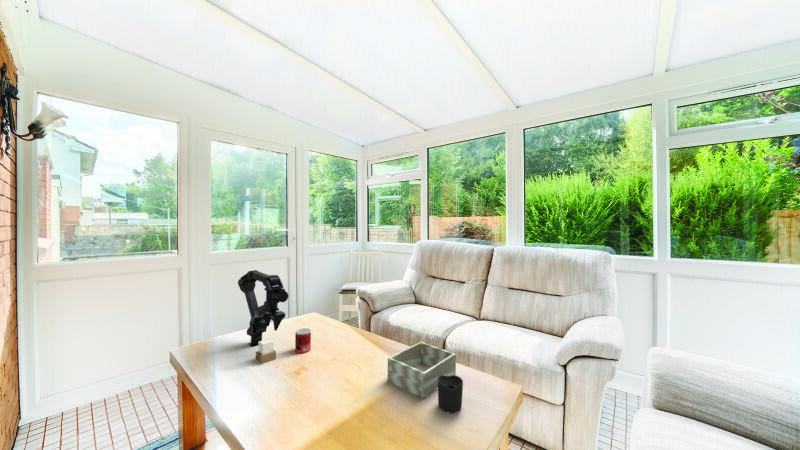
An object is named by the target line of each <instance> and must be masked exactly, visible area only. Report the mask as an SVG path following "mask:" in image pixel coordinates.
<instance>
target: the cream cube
mask: <svg viewBox="0 0 800 450" xmlns="http://www.w3.org/2000/svg"><path fill="white" fill-rule="evenodd" d="M273 350H274V341H273V340H271V339H270V338H266V339H262V341H259V345H258V350H257V351H258V352H260V353H261V354H262V355H264V354H267V353H270V352H273Z"/></svg>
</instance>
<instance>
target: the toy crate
mask: <svg viewBox="0 0 800 450" xmlns="http://www.w3.org/2000/svg"><path fill="white" fill-rule="evenodd" d="M421 362H422V363H421ZM419 363H420V364H423V363H424V364H423V365H425V364H426V366H427V365H428V366H427V367H429V368H428V369H426V370H425V371H422V370H420V369H418V368H415V367H416V365H417V364H418V365H420V364H419ZM418 365H417V366H418ZM414 366H415V367H414ZM430 366H431V367H430ZM456 368H457V354H456V353H454V352H452V351H448V350H445V349H443V348H440V347H439V346H438V347H437V346H434V345H432V344H428V343H426V342H423V341H419V342H417V343H415V344H414V345H412V346H411V345H410V346H409V347H406V348H405V349H403V350H401V351H399V352H397V353H395V354H393V355H390V356H389V357H387V381H388V382H390V383H391V384H394V385H396V386H398V387H400V388H401V389H403V388H404V389H403V390H405V389H406V390H405V391H407V390H408V391H407V392H409V391H410V393H411V392H412V394H413V395H415V396H416V397H419V398H421V399H423V400H425V399H426V398H428V397H429V396H431V393H432V392H433V393H434V392H436V391H437V390H438V389H437V388H438V377H439V376H441V375H444V376H452V375H456V376H457V374H456V373H457V372H456V370H457V369H456ZM436 389H437V390H436ZM435 390H436V391H435ZM433 393H432V394H433Z"/></svg>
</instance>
